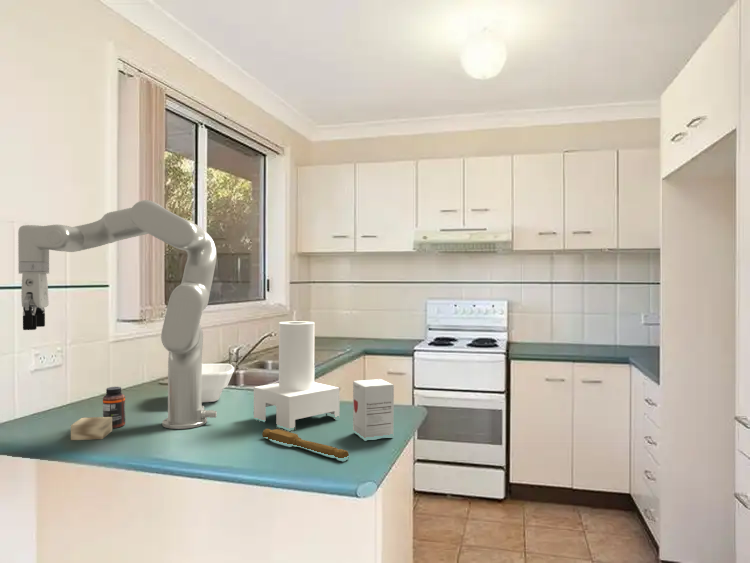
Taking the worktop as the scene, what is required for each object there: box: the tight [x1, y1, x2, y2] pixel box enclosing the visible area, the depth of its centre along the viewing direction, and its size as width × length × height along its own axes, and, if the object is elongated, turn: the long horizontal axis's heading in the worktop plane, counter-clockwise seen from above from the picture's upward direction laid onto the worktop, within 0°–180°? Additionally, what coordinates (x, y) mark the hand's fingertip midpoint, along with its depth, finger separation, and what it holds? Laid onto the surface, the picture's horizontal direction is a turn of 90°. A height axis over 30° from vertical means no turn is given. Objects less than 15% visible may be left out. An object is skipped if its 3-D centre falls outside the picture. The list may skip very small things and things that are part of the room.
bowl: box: [202, 363, 235, 403], centre depth 194 cm, size 22×22×12 cm
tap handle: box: [261, 428, 350, 458], centre depth 142 cm, size 3×3×30 cm
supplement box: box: [352, 378, 395, 438], centre depth 153 cm, size 9×9×15 cm
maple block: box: [70, 416, 113, 441], centre depth 152 cm, size 8×8×4 cm
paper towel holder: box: [253, 320, 341, 429], centre depth 170 cm, size 19×19×30 cm
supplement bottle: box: [102, 386, 126, 429], centre depth 162 cm, size 6×6×11 cm
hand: (34, 328), depth 158 cm, fingers open, 9 cm apart
